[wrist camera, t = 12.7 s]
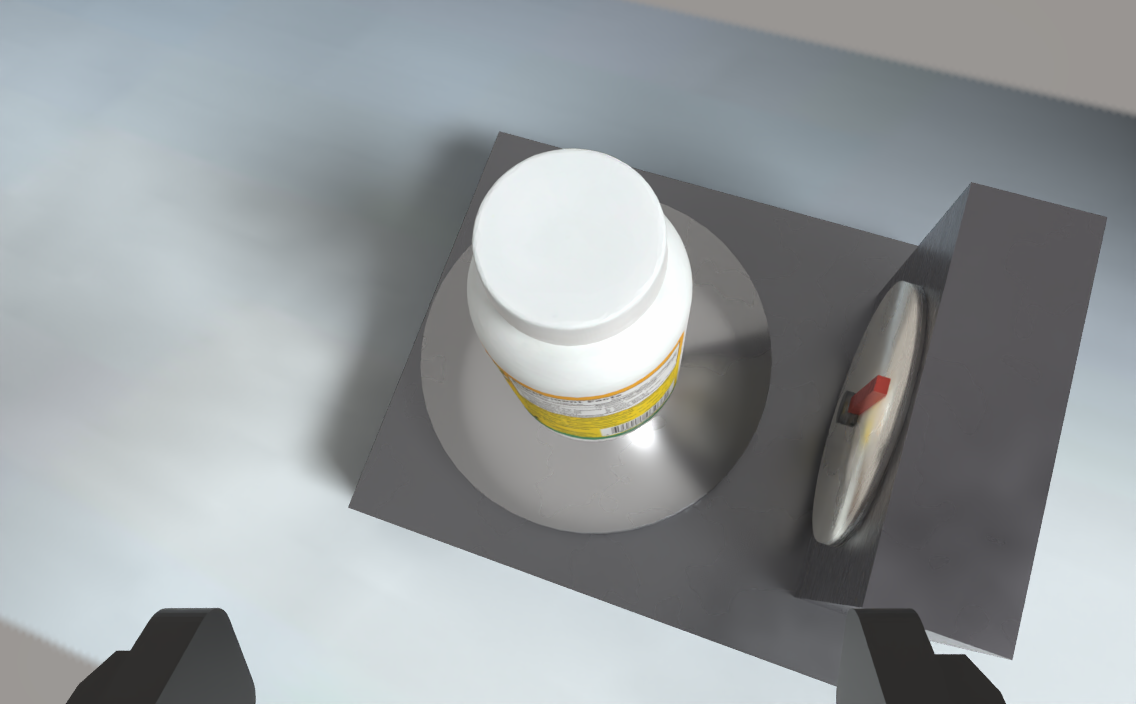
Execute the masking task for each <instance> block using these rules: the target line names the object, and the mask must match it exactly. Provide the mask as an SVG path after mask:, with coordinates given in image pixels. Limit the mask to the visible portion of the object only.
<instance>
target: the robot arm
mask: <svg viewBox="0 0 1136 704" xmlns="http://www.w3.org/2000/svg"><path fill="white" fill-rule="evenodd" d="M255 703H256V696H255V687H254V683H253V680H252V677H251V674H250V672H249V669H248V666H247V664H246V661H245V659H244V656H243V653H242V651H241V648H240V645H239V643H238V640H237V638H236V635H235V632H234V630H233V627H232V624H231V622H230V619H229V617H228V615H227V613H226V612H225V611H224V610H222V609H220V608H165V609H162V610H159V611H158V612H157V613H155V614H154V615H153V617H152V618H151V619H150V621H149V622H148V624H147V625H146V627H145V628H144V630H143V631H142V633H141V635H140V636H139V638H138V639H137V641H136V642H135V644H134V646H133V647H132V649H131V650H130V651H116V652H115V653H113V654H112V655H111V656H110V657H109V658H108V659H107V660H106V661H105V662H103V663H102V664H101V665H100V666H99V667H98V668H97V669H96V670H94V671H93V672H92V673H91V674H90V675H89V676H88V677H87V678H86V679H84V681H82V682H81V683H80V684H79V685H78V686H77V688H76V689H75V691H74V692H73V694H72V695H71V697H70V698H69V700H68V701H67V703H66V704H255ZM836 704H1006V703H1005V701H1004V699H1003V696H1002V694H1001V692H1000V691H999V690H998V689H997V688H996V687H995V686H994V685H993V684H992V682H991V681H990V680H989V679H988V678H987V677H986V676H985V675H984V674H983V673H982V672H981V671H980V670H979V669H978V668H977V667H976V665H975V664H974V663H973V662H972V661H971V660H970V659H969V658H968V657H967V656H966V655H965V654H934V651H933V649H932V646H931V644H930V641H929V639H928V636H927V634H926V631H925V629H924V626H923V624H922V621H921V619H920V617H919V615H918V614H917V612H916V611H915V610H914V609H911V608H851V609H850V610H849V611H848V614H847V618H846V625H845V632H844V639H843V646H842V653H841V661H840V668H839V675H838V682H837V691H836Z"/></svg>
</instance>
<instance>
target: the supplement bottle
mask: <svg viewBox="0 0 1136 704" xmlns="http://www.w3.org/2000/svg"><path fill="white" fill-rule="evenodd" d="M472 250H473V256H472V259H471V263H470V267H469V272H468V279H467V298H468V306H469V311H470V316H471V319H472V322H473V325H474V328H475V331H476V333H477V335H478V337H479V340H480V342H481V343H482V345H483V347H484V348H485V350H486V352H487V354H488V355H489V356H490V358H491V359H492V360H493V362H494V363H495V365H496V366H497V367H498V369H499V370H500V372H501V373H502V375H503V376H504V378H505V379H506V381H507V382H508V384H509V385H510V387H511V388H512V390H513V391H514V393H515V394H516V395H517V397H518V398H519V400H520V401H521V402H522V404H523V405H524V407H525V408H526V409H527V411H528V412H529V413H530V414H531V415H532V416H533V417H534V418H535V419H536V420H537V421H538V422H539V423H540V424H542V425H543V426H544V427H546V428H547V429H549V430H551V431H552V432H555V433H557V434H559V435H562V436H564V437H567V438H571V439H576V440H582V441H605V440H611V439H615V438H619V437H623V436H625V435H628V434H630V433H632V432H634V431H636V430H638V429H639V428H641V427H643V426H644V425H645V424H647V423H648V422H649V421H651V420H652V419H653V418H654V417H655V416H656V415H657V414H658V413H659V412H660V411H661V410H662V408H663V407H664V406H665V404H666V403H667V401H668V400H669V398H670V397H671V395H672V393H673V391H674V388H675V386H676V383H677V379H678V376H679V371H680V365H681V359H682V353H683V347H684V341H685V335H686V329H687V324H688V319H689V313H690V307H691V301H692V272H691V267H690V262H689V258H688V255H687V252H686V249H685V247H684V244H683V242H682V240H681V238H680V236H679V234H678V233H677V231H676V229H675V228H674V226H673V225H672V224H671V222H670V221H669V220H668V218H667V217H666V216H665V215H664V214H663V211H662V208H661V205H660V203H659V200H658V198H657V196H656V195H655V193H654V191H653V190H652V188H651V187H650V185H649V184H648V183H647V182H646V181H645V180H644V178H643V177H642V176H641V175H640V174H639V173H638V172H636V171H635V170H634V169H633V168H631V167H630V166H628V165H627V164H625V163H623V162H622V161H620V160H618V159H616V158H614V157H612V156H610V155H607V154H604V153H601V152H597V151H593V150H586V149H559V150H553V151H548V152H544V153H540V154H537V155H534V156H532V157H529V158H527V159H525V160H524V161H522V162H520V163H518V164H516V165H515V166H514V167H512V168H511V169H509V170H508V171H507V172H506V173H505V174H503V175H502V176H501V177H500V178H499V179H498V180H497V181H496V182H495V183H494V185H493V186H492V187H491V189H490V190H489V191H488V193H487V194H486V196H485V197H484V199H483V201H482V203H481V205H480V207H479V210H478V213H477V215H476V218H475V222H474V228H473V236H472Z"/></svg>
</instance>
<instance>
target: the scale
mask: <svg viewBox="0 0 1136 704" xmlns="http://www.w3.org/2000/svg"><path fill="white" fill-rule="evenodd" d="M559 149H562V148H558V147H555V146H551V145H547V144H544V143H540V142H536V141H533V140H529V139H525V138H522V137H518V136H514V135H511V134H507V133H503V132H500V131H499V134H498V136H497V139H496V141H495V144H494V146H493V149H492V151H491V154H490V156H489V159H488V161H487V164H486V166H485V169H484V171H483V174H482V176H481V179H480V181H479V184H478V186H477V189H476V191H475V193H474V196H473V198H472V201H471V203H470V206H469V208H468V211H467V213H466V216H465V218H464V221H463V223H462V226H461V228H460V231H459V233H458V236H457V238H456V241H455V243H454V246H453V248H452V251H451V253H450V256H449V258H448V261H447V263H446V266H445V268H444V271H443V273H442V276H441V278H440V281H439V283H438V285H437V288H436V290H435V293H434V295H433V298H432V300H431V303H430V305H429V308H428V310H427V313H426V315H425V318H424V320H423V323H422V325H421V328H420V330H419V333H418V335H417V338H416V340H415V343H414V345H413V348H412V350H411V353H410V355H409V358H408V360H407V363H406V365H405V368H404V370H403V373H402V375H401V377H400V380H399V382H398V385H397V387H396V390H395V392H394V395H393V397H392V400H391V402H390V405H389V407H388V410H387V412H386V415H385V417H384V420H383V422H382V425H381V427H380V430H379V432H378V435H377V437H376V440H375V442H374V445H373V447H372V450H371V452H370V455H369V457H368V460H367V462H366V465H365V467H364V469H363V472H362V474H361V477H360V479H359V482H358V484H357V487H356V489H355V492H354V494H353V497H352V499H351V502H350V504H349V507H348V508H351V509H354V510H357V511H359V512H362V513H365V514H367V515H370V516H373V517H376V518H378V519H381V520H384V521H387V522H389V523H392V524H395V525H397V526H400V527H403V528H406V529H408V530H411V531H414V532H417V533H419V534H422V535H425V536H427V537H430V538H433V539H436V540H438V541H441V542H444V543H447V544H449V545H452V546H455V547H457V548H460V549H463V550H466V551H468V552H471V553H474V554H477V555H479V556H482V557H485V558H487V559H490V560H493V561H496V562H498V563H501V564H504V565H507V566H509V567H512V568H515V569H517V570H520V571H523V572H526V573H528V574H531V575H534V576H537V577H539V578H542V579H545V580H547V581H550V582H553V583H556V584H558V585H561V586H564V587H567V588H569V589H572V590H575V591H577V592H580V593H583V594H586V595H588V596H591V597H594V598H597V599H599V600H602V601H605V602H607V603H610V604H613V605H616V606H618V607H621V608H624V609H627V610H629V611H632V612H635V613H637V614H640V615H643V616H646V617H648V618H651V619H654V620H657V621H659V622H662V623H665V624H667V625H670V626H673V627H676V628H678V629H681V630H684V631H687V632H689V633H692V634H695V635H697V636H700V637H703V638H706V639H708V640H711V641H714V642H717V643H719V644H722V645H725V646H728V647H730V648H733V649H736V650H738V651H741V652H744V653H747V654H749V655H752V656H755V657H758V658H760V659H763V660H766V661H768V662H771V663H774V664H777V665H779V666H782V667H785V668H788V669H790V670H793V671H796V672H798V673H801V674H804V675H807V676H809V677H812V678H815V679H818V680H820V681H823V682H826V683H828V684H831V685H834V686H837V682H838V675H839V668H840V661H841V653H842V646H843V639H844V632H845V625H846V618H847V614H848V611H849V610H850V609H851V608H911V609H914V610H915V611H916V612H917V614H918V615H919V617H920V619H921V621H922V624H923V626H924V629H925V631H926V634H927V636H928V639H929V641H933V642H937V643H941V644H946V645H950V646H954V647H959V648H963V649H967V650H971V651H976V652H980V653H984V654H989V655H993V656H997V657H1002V658H1006V659H1010V660H1012V659H1013V654H1014V650H1015V645H1016V640H1017V636H1018V631H1019V626H1020V622H1021V617H1022V612H1023V608H1024V603H1025V598H1026V594H1027V589H1028V584H1029V580H1030V575H1031V570H1032V566H1033V561H1034V556H1035V552H1036V547H1037V542H1038V538H1039V533H1040V528H1041V524H1042V519H1043V514H1044V510H1045V505H1046V500H1047V496H1048V491H1049V486H1050V482H1051V477H1052V472H1053V468H1054V463H1055V458H1056V454H1057V449H1058V444H1059V440H1060V435H1061V430H1062V426H1063V421H1064V416H1065V412H1066V407H1067V402H1068V398H1069V393H1070V388H1071V384H1072V379H1073V374H1074V370H1075V365H1076V360H1077V356H1078V351H1079V346H1080V342H1081V337H1082V332H1083V328H1084V323H1085V318H1086V314H1087V309H1088V304H1089V300H1090V295H1091V290H1092V286H1093V281H1094V276H1095V272H1096V267H1097V262H1098V258H1099V253H1100V248H1101V244H1102V239H1103V234H1104V230H1105V225H1106V220H1107V217H1104V216H1100V215H1096V214H1092V213H1088V212H1085V211H1081V210H1077V209H1073V208H1069V207H1065V206H1061V205H1058V204H1054V203H1050V202H1046V201H1042V200H1038V199H1034V198H1030V197H1027V196H1023V195H1019V194H1015V193H1011V192H1007V191H1003V190H999V189H996V188H992V187H988V186H984V185H980V184H976V183H972V182H971V183H970V185H969V186H968V187H967V188H966V189H965V191H964V192H963V193H962V194H961V195H960V197H959V198H958V199H957V200H956V201H955V203H954V204H953V205H952V206H951V207H950V209H949V210H948V211H947V212H946V213H945V215H944V216H943V217H942V218H941V219H940V221H939V222H938V223H937V224H936V225H935V227H934V228H933V229H932V230H931V231H930V233H929V234H928V235H927V236H926V237H925V239H924V240H923V241H922V242H921V243H920V245H919V246H916V245H913V244H909V243H905V242H902V241H898V240H894V239H891V238H887V237H883V236H880V235H876V234H872V233H869V232H865V231H861V230H858V229H854V228H850V227H847V226H843V225H839V224H836V223H832V222H829V221H825V220H821V219H818V218H814V217H810V216H807V215H803V214H799V213H796V212H792V211H788V210H785V209H781V208H777V207H774V206H770V205H766V204H763V203H759V202H755V201H752V200H748V199H744V198H741V197H737V196H734V195H730V194H726V193H723V192H719V191H715V190H712V189H708V188H704V187H701V186H697V185H693V184H690V183H686V182H682V181H679V180H675V179H671V178H668V177H664V176H660V175H657V174H653V173H650V172H646V171H642V170H639V169H635V168H633V169H634V170H635V171H636V172H638V173H639V174H640V175H641V176H642V177H643V178H644V180H645V181H646V182H647V183H648V184H649V185H650V187H651V188H652V190H653V191H654V193H655V195H656V196H657V198H658V200H659V203H660V205H661V208H662V211H663V214H664V215H665V216H666V217H667V218H668V220H669V221H670V222H671V224H672V225H673V226H674V228H675V229H676V231H677V233H678V234H679V236H680V238H681V240H682V242H683V244H684V247H685V249H686V252H687V255H688V258H689V262H690V267H691V272H692V301H691V307H690V313H689V319H688V324H687V329H686V335H685V341H684V347H683V353H682V359H681V365H680V371H679V376H678V379H677V383H676V386H675V388H674V391H673V393H672V395H671V397H670V398H669V400H668V401H667V403H666V404H665V406H664V407H663V408H662V410H661V411H660V412H659V413H658V414H657V415H656V416H655V417H654V418H653V419H652V420H651V421H649V422H648V423H647V424H645V425H644V426H643V427H641V428H639V429H638V430H636V431H634V432H632V433H630V434H628V435H625V436H623V437H619V438H615V439H611V440H605V441H582V440H576V439H571V438H567V437H564V436H562V435H559V434H557V433H555V432H552V431H551V430H549V429H547V428H546V427H544V426H543V425H542V424H540V423H539V422H538V421H537V420H536V419H535V418H534V417H533V416H532V415H531V414H530V413H529V412H528V411H527V409H526V408H525V407H524V405H523V404H522V402H521V401H520V400H519V398H518V397H517V395H516V394H515V393H514V391H513V390H512V388H511V387H510V385H509V384H508V382H507V381H506V379H505V378H504V376H503V375H502V373H501V372H500V370H499V369H498V367H497V366H496V365H495V363H494V362H493V360H492V359H491V358H490V356H489V355H488V354H487V352H486V350H485V348H484V347H483V345H482V343H481V342H480V340H479V337H478V335H477V333H476V331H475V328H474V325H473V322H472V319H471V316H470V311H469V306H468V298H467V279H468V272H469V267H470V263H471V259H472V256H473V250H472V236H473V228H474V222H475V218H476V215H477V213H478V210H479V207H480V205H481V203H482V201H483V199H484V197H485V196H486V194H487V193H488V191H489V190H490V189H491V187H492V186H493V185H494V183H495V182H496V181H497V180H498V179H499V178H500V177H501V176H502V175H503V174H505V173H506V172H507V171H508V170H509V169H511V168H512V167H514V166H515V165H516V164H518V163H520V162H522V161H524V160H525V159H527V158H529V157H532V156H534V155H537V154H540V153H544V152H548V151H553V150H559Z"/></svg>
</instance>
